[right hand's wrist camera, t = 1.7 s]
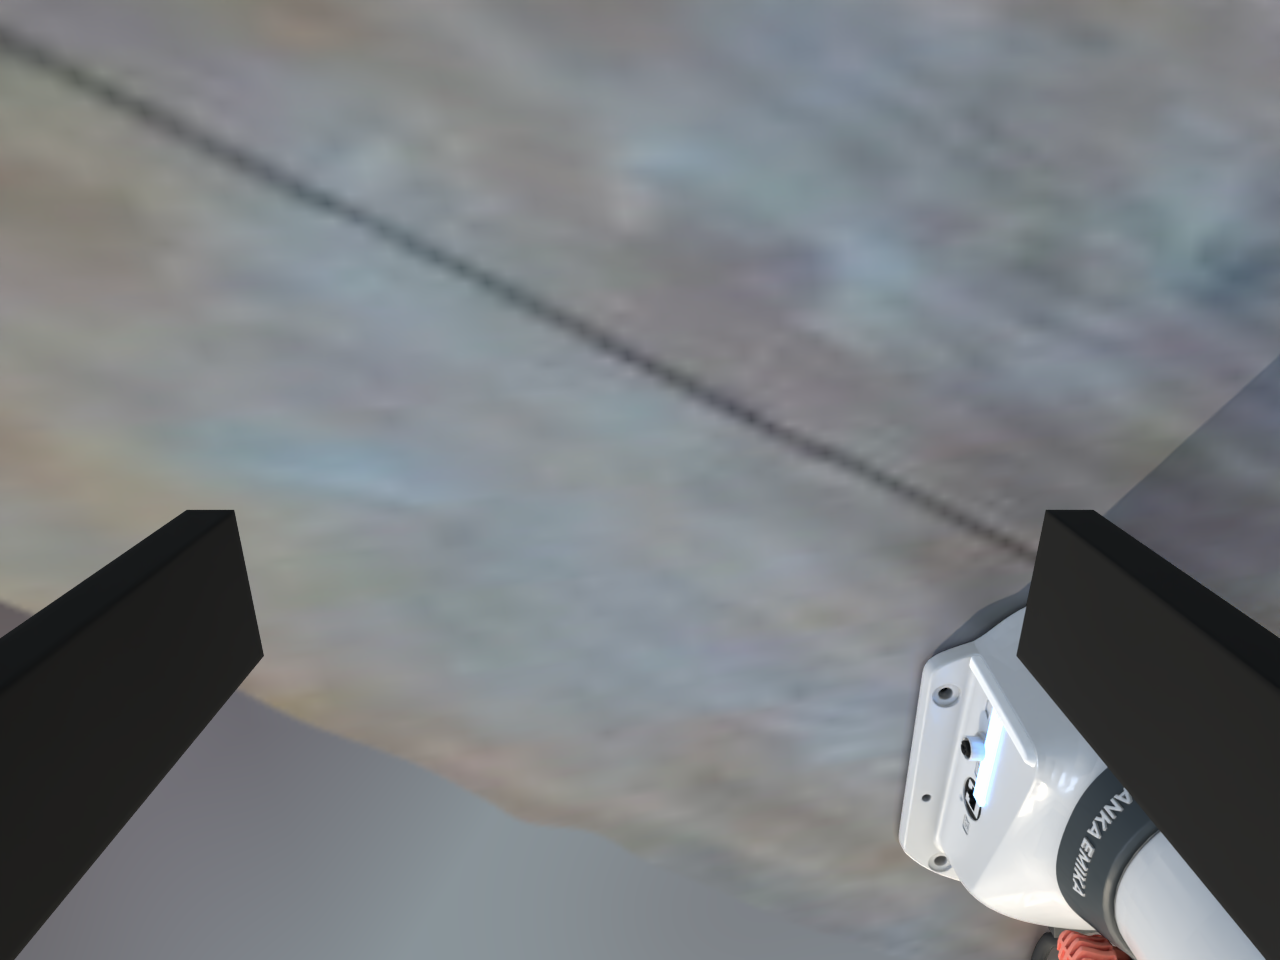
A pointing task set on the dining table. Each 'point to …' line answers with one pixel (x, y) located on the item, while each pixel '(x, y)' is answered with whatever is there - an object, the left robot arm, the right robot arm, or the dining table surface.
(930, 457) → the dining table surface
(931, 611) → the dining table surface
